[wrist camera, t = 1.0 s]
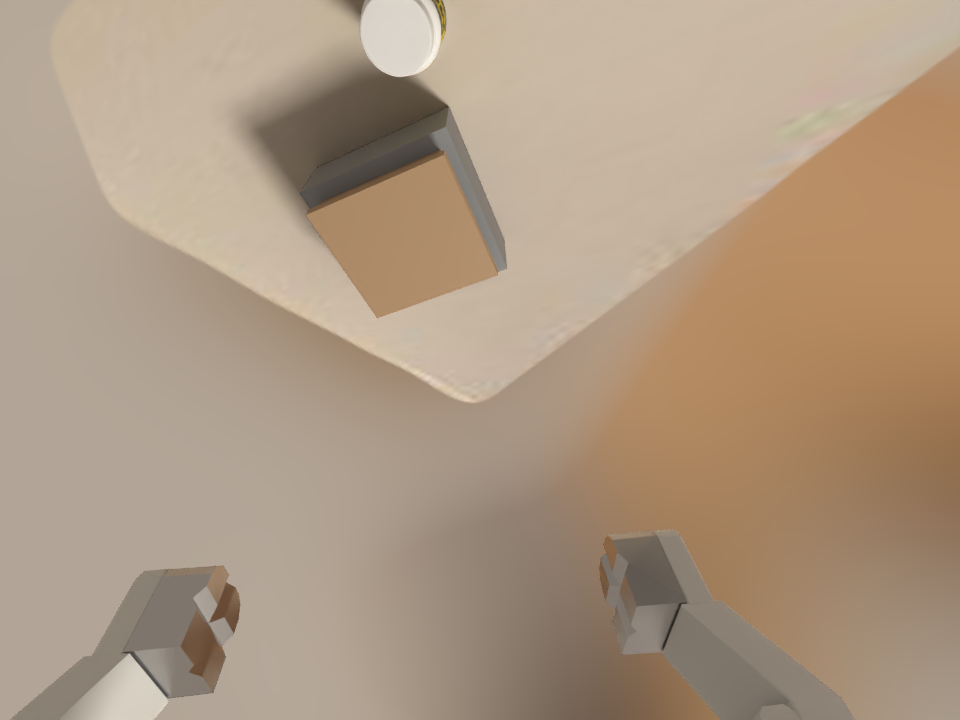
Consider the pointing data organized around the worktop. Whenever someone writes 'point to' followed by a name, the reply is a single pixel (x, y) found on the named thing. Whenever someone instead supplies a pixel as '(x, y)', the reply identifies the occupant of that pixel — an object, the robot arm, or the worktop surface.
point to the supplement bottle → (402, 34)
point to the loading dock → (407, 216)
